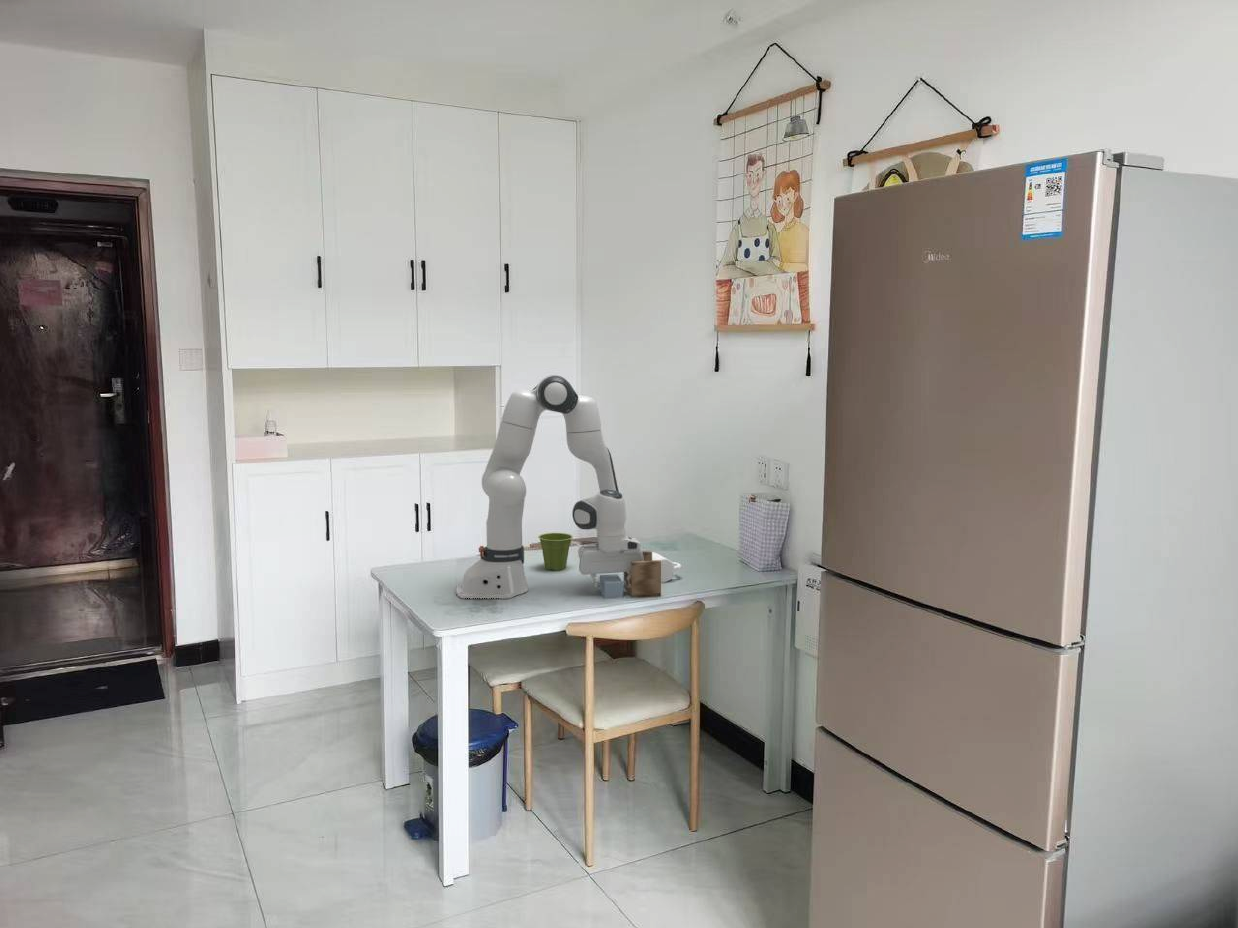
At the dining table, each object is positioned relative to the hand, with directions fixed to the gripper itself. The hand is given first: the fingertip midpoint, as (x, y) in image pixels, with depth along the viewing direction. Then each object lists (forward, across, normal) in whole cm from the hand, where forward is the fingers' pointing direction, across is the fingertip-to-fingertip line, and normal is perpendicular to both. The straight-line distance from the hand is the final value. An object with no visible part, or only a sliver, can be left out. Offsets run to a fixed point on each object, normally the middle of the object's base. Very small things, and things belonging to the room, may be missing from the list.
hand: (612, 586), depth 281 cm
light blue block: (+2, 0, 0) cm, 2 cm away
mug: (+3, +20, +13) cm, 24 cm away
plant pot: (+2, -13, +34) cm, 36 cm away
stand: (+2, +10, 0) cm, 10 cm away
